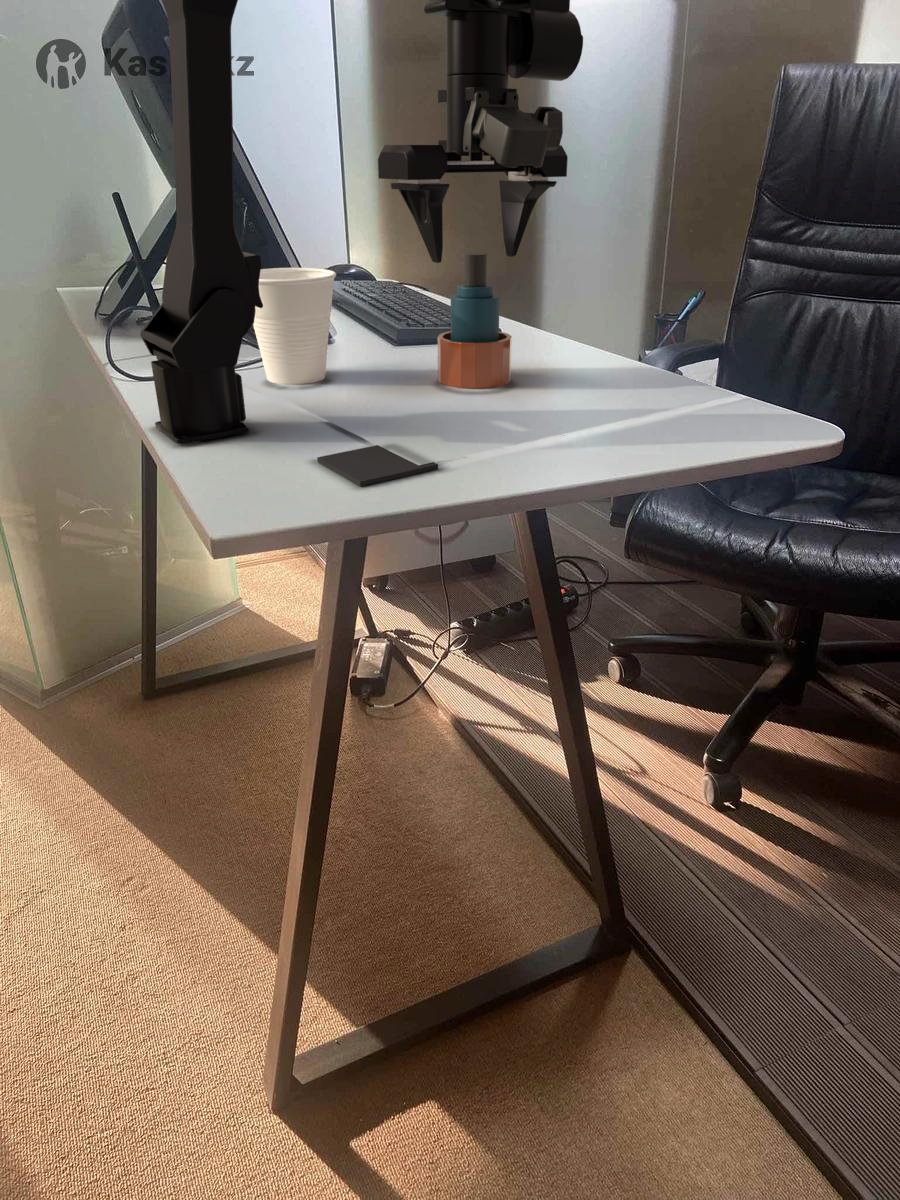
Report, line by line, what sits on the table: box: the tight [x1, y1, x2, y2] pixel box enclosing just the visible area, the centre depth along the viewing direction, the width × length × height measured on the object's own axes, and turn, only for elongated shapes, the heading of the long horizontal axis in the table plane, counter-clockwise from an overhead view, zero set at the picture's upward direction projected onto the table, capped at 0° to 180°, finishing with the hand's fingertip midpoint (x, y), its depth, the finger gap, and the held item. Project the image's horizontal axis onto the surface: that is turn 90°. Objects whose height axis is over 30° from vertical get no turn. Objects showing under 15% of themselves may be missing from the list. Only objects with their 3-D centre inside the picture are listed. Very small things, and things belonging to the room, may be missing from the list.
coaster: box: [316, 444, 439, 487], centre depth 68 cm, size 7×7×1 cm
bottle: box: [450, 252, 501, 343], centre depth 88 cm, size 5×5×12 cm
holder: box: [437, 330, 513, 390], centre depth 90 cm, size 8×8×5 cm
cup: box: [253, 267, 337, 385], centre depth 90 cm, size 10×10×11 cm
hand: (474, 259), depth 85 cm, fingers open, 9 cm apart
